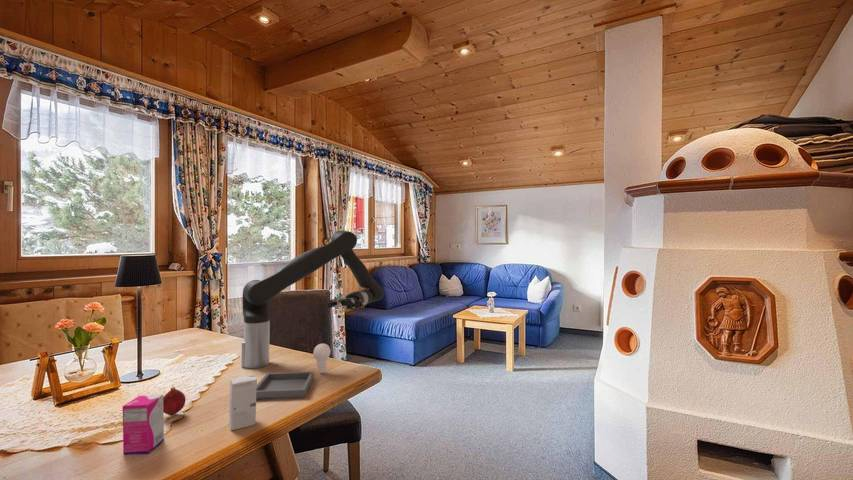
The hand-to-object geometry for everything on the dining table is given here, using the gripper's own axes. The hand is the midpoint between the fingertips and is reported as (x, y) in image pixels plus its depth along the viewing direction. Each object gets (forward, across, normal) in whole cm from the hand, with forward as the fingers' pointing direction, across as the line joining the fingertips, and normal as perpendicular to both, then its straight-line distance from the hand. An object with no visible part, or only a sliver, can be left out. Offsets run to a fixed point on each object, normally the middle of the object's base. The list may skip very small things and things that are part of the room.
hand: (338, 306), depth 147 cm
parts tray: (+29, -3, +23) cm, 37 cm away
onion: (+54, -20, +23) cm, 62 cm away
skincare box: (+52, +2, +23) cm, 57 cm away
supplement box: (+68, -12, +22) cm, 72 cm away
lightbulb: (+13, +1, +23) cm, 26 cm away
